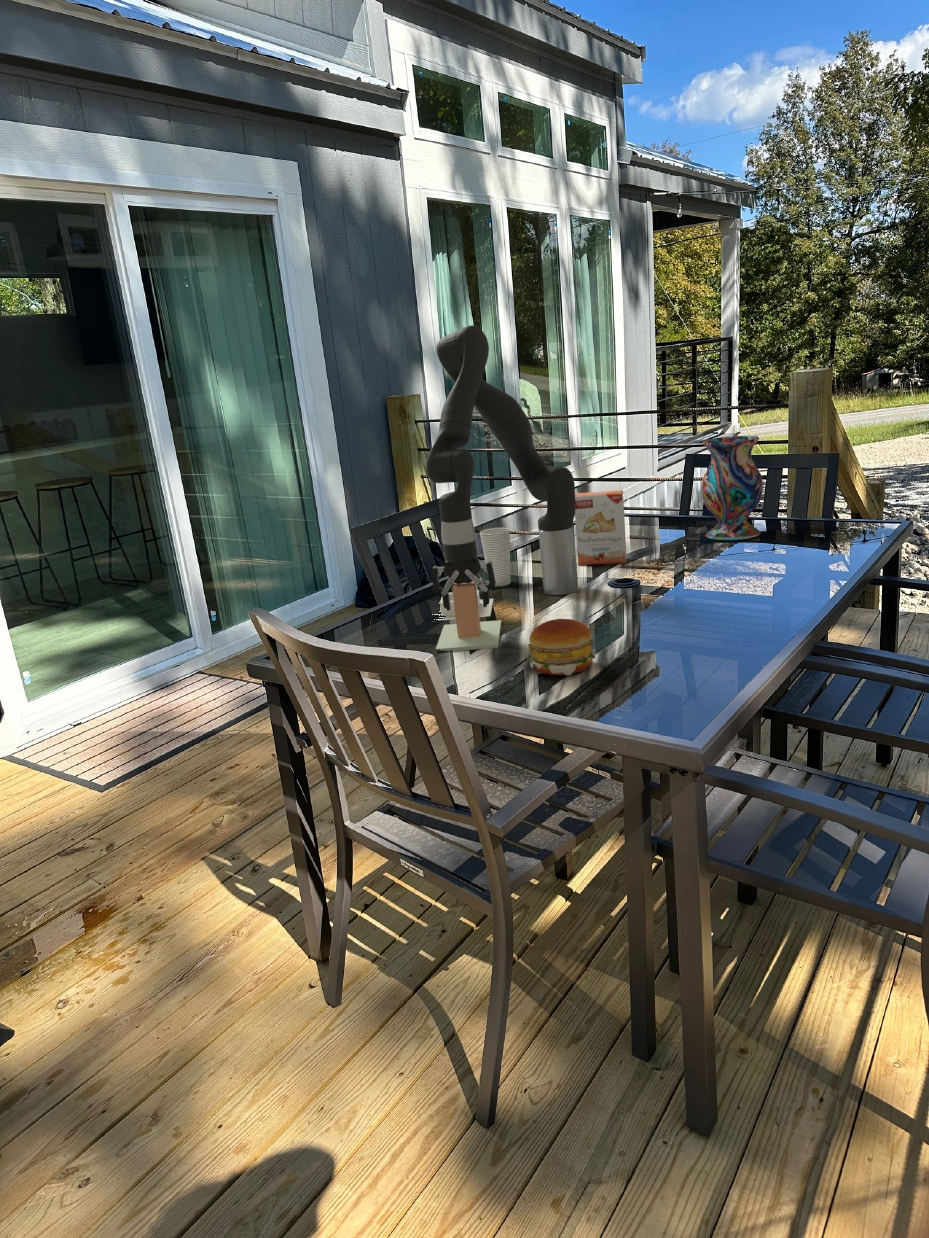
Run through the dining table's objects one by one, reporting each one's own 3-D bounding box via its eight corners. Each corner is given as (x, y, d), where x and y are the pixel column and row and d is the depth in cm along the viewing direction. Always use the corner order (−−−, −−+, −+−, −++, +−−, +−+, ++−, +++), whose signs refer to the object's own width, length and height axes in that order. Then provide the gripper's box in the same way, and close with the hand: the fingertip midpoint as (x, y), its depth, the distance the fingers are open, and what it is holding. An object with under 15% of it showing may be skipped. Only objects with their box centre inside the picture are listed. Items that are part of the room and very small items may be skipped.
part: (481, 629, 202) (475, 580, 199) (479, 636, 198) (474, 586, 194) (460, 631, 203) (454, 582, 199) (458, 638, 198) (452, 588, 195)
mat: (501, 623, 208) (501, 620, 208) (498, 647, 191) (497, 644, 191) (444, 628, 210) (444, 624, 209) (436, 652, 192) (435, 649, 192)
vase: (690, 537, 274) (686, 442, 266) (735, 527, 281) (733, 434, 273) (730, 545, 258) (727, 444, 250) (776, 534, 265) (776, 435, 257)
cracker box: (577, 566, 254) (572, 496, 248) (580, 561, 260) (575, 492, 254) (625, 563, 251) (621, 492, 245) (627, 558, 256) (623, 489, 250)
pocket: (493, 600, 228) (492, 585, 227) (490, 618, 213) (488, 602, 212) (434, 605, 230) (432, 591, 229) (426, 623, 215) (424, 607, 214)
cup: (512, 587, 240) (507, 532, 235) (482, 588, 241) (476, 534, 237) (516, 579, 247) (511, 526, 243) (488, 581, 249) (482, 528, 245)
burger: (590, 653, 181) (587, 608, 178) (602, 675, 168) (599, 627, 165) (527, 661, 181) (522, 615, 178) (534, 683, 168) (529, 635, 165)
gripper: (491, 533, 196) (498, 601, 201) (429, 539, 198) (438, 606, 203) (489, 539, 189) (496, 610, 194) (425, 545, 191) (434, 615, 195)
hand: (467, 608), depth 198 cm, fingers open, 8 cm apart
